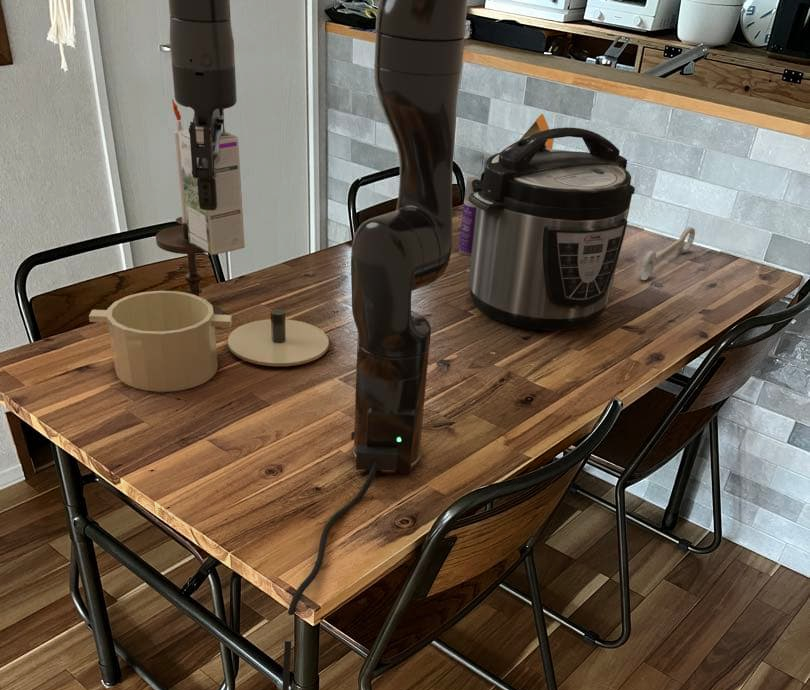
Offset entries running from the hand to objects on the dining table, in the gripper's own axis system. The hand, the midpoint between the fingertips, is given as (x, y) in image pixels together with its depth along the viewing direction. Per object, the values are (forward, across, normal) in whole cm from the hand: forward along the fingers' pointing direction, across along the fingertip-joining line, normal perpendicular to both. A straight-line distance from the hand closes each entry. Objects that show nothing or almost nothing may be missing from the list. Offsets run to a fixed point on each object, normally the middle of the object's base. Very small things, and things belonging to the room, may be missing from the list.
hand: (212, 198), depth 112 cm
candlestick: (+29, -25, -8) cm, 39 cm away
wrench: (+28, -62, +88) cm, 111 cm away
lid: (+28, -15, +7) cm, 32 cm away
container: (+29, -65, +45) cm, 84 cm away
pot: (+28, -6, -10) cm, 31 cm away
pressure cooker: (+28, -36, +55) cm, 72 cm away
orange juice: (+29, -103, +64) cm, 125 cm away
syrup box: (+6, 0, 0) cm, 6 cm away
